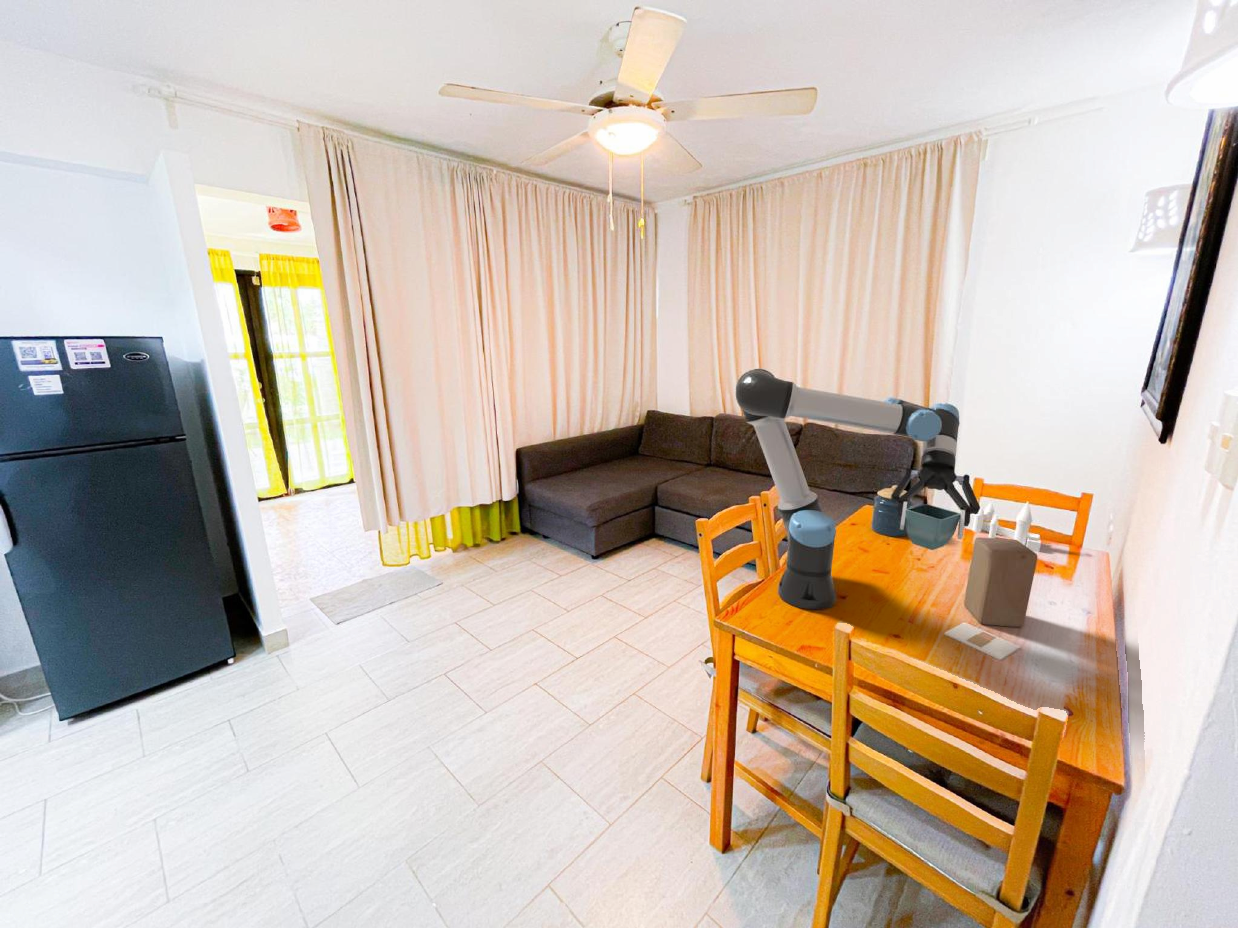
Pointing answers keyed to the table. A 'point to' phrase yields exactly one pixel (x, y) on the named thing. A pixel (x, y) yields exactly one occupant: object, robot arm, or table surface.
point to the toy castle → (992, 527)
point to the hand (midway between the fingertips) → (930, 531)
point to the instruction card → (982, 640)
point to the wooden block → (1000, 581)
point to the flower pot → (931, 525)
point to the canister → (888, 514)
